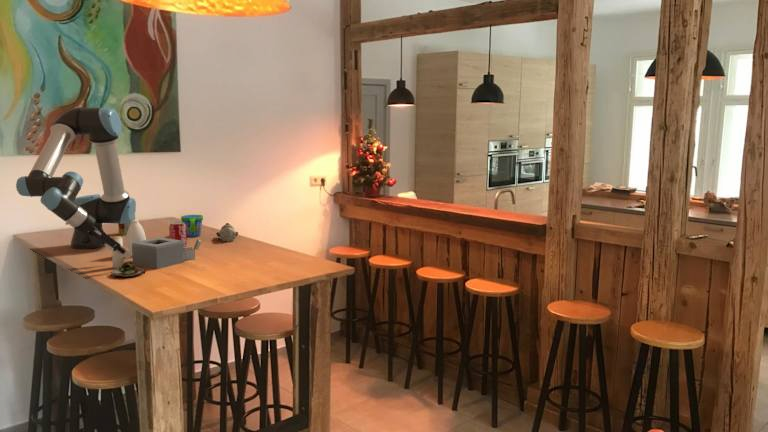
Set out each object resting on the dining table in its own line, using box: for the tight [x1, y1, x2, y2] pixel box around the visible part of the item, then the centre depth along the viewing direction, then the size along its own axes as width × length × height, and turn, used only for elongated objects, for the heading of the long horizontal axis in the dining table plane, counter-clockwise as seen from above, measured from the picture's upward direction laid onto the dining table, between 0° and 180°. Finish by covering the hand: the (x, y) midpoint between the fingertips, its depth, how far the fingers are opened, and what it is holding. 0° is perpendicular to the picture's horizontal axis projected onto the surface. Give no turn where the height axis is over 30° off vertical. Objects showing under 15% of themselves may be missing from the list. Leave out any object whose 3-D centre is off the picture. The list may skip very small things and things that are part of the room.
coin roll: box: [111, 236, 125, 270], centre depth 239 cm, size 4×4×12 cm
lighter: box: [184, 239, 202, 261], centre depth 256 cm, size 7×2×8 cm, turn 128°
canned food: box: [117, 218, 134, 236], centre depth 306 cm, size 8×8×12 cm
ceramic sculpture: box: [215, 222, 239, 243], centre depth 297 cm, size 11×9×15 cm
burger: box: [110, 258, 146, 279], centre depth 229 cm, size 12×12×8 cm
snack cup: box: [180, 214, 204, 238], centre depth 304 cm, size 16×10×10 cm
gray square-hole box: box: [131, 236, 185, 270], centre depth 247 cm, size 14×14×9 cm
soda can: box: [168, 221, 188, 250], centre depth 269 cm, size 7×7×13 cm
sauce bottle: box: [125, 214, 147, 254], centre depth 260 cm, size 8×8×18 cm
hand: (124, 254), depth 241 cm, fingers open, 12 cm apart
